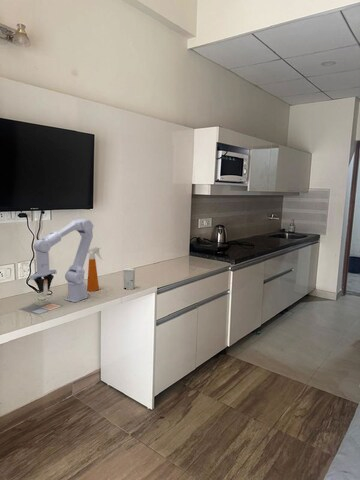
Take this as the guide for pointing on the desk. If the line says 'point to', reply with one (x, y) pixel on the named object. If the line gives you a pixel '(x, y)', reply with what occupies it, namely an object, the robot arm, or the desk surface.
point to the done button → (41, 299)
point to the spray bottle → (93, 270)
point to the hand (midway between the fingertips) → (44, 290)
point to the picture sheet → (41, 308)
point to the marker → (45, 287)
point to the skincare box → (129, 278)
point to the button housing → (41, 302)
